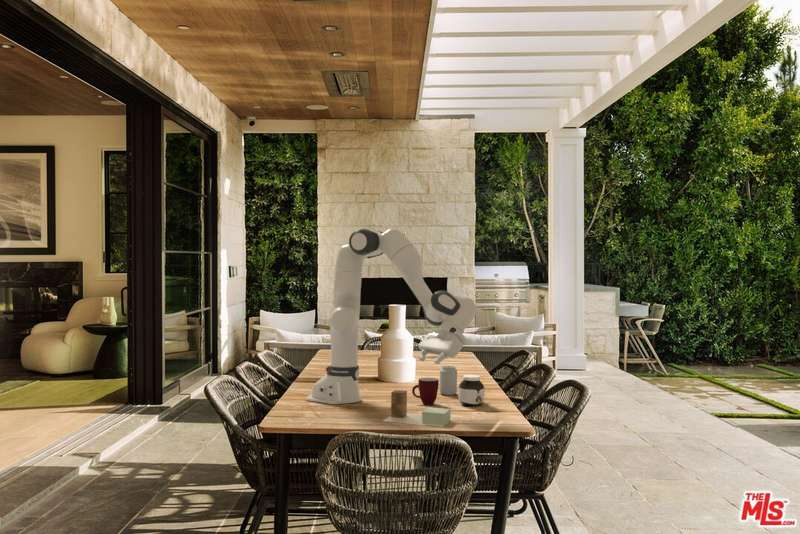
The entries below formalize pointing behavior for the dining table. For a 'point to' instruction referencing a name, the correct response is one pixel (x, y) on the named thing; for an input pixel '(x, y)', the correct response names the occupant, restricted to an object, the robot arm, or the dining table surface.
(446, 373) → the can
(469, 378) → the spread jar
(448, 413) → the base block
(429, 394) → the mug
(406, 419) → the tile
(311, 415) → the dining table surface
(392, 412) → the pillar
